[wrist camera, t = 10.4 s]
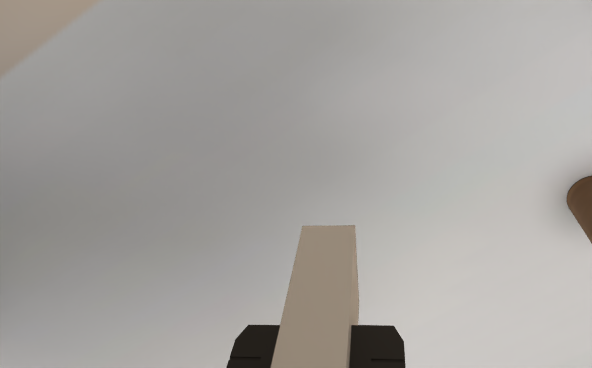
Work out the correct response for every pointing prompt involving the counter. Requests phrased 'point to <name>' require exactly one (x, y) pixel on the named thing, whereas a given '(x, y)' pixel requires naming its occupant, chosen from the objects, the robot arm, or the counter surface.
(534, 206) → the counter surface
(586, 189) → the post
